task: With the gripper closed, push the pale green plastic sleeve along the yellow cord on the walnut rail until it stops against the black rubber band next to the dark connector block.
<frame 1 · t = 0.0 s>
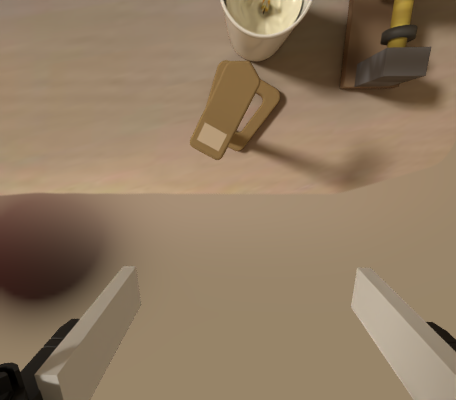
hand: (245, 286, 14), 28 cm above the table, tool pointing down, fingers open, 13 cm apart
candle holder: (256, 30, 35), on the table
headphone stand: (235, 110, 38), on the table
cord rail: (376, 11, 34), on the table
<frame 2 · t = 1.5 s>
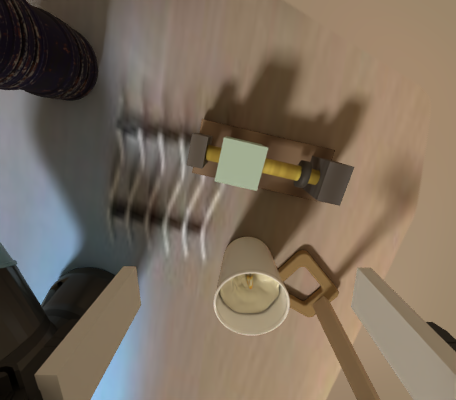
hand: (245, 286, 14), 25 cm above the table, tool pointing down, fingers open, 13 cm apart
candle holder: (247, 256, 42), on the table
headphone stand: (301, 283, 43), on the table
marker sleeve: (240, 161, 30), point 7 cm above the table, slide at 0.0 cm
storage jar: (65, 64, 34), on the table
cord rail: (261, 160, 37), on the table
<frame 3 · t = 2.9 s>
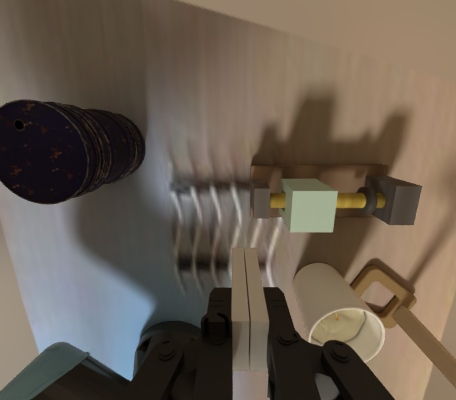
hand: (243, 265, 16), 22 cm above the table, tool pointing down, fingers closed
candle holder: (315, 282, 42), on the table
headphone stand: (375, 296, 43), on the table
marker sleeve: (304, 202, 31), point 7 cm above the table, slide at 0.0 cm
storage jar: (114, 146, 37), on the table
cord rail: (313, 190, 38), on the table
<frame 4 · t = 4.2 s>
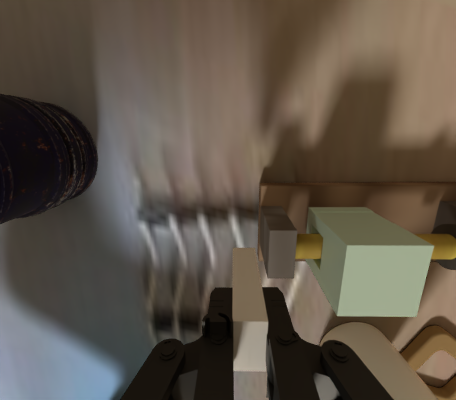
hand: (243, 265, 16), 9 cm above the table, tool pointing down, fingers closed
candle holder: (350, 346, 30), on the table
headphone stand: (434, 366, 30), on the table
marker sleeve: (353, 253, 18), point 7 cm above the table, slide at 0.0 cm
storage jar: (50, 153, 24), on the table
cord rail: (354, 219, 25), on the table
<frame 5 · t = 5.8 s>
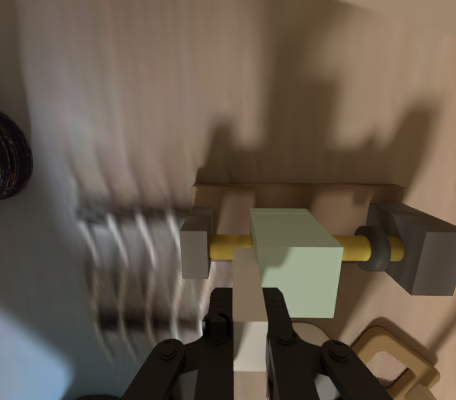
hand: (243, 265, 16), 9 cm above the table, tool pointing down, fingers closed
candle holder: (296, 347, 30), on the table
headphone stand: (380, 367, 30), on the table
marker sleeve: (284, 254, 18), point 7 cm above the table, slide at 1.4 cm, touching gripper
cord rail: (290, 221, 25), on the table
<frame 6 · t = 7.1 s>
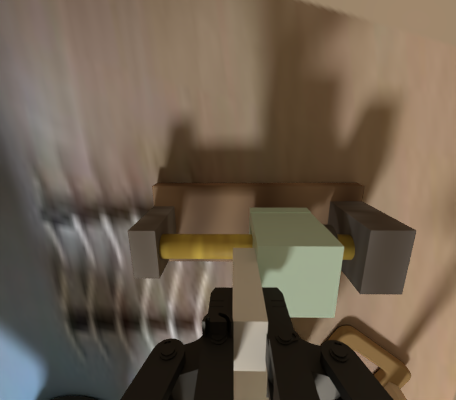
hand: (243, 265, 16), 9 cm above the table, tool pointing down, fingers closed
candle holder: (267, 346, 30), on the table
headphone stand: (352, 366, 30), on the table
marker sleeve: (285, 253, 18), point 7 cm above the table, slide at 5.2 cm, touching gripper
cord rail: (254, 220, 25), on the table
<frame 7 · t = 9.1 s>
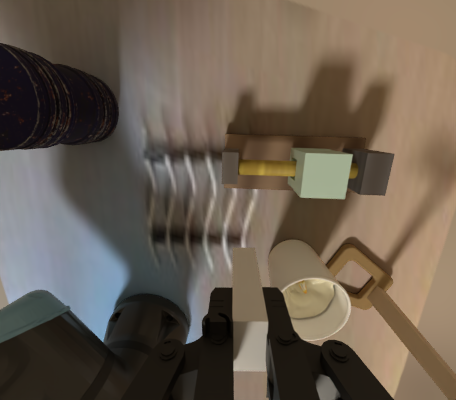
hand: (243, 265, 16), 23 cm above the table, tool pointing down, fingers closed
candle holder: (291, 259, 42), on the table
headphone stand: (351, 277, 42), on the table
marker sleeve: (315, 170, 30), point 7 cm above the table, slide at 5.2 cm
storage jar: (87, 109, 36), on the table
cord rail: (289, 162, 37), on the table
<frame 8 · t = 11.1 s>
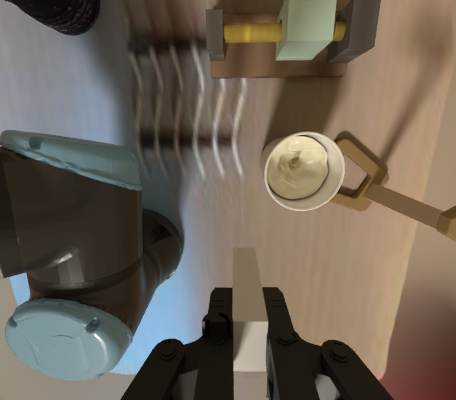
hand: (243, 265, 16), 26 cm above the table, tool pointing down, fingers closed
candle holder: (284, 161, 41), on the table
headphone stand: (346, 178, 41), on the table
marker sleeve: (302, 28, 29), point 7 cm above the table, slide at 5.2 cm
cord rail: (277, 48, 36), on the table
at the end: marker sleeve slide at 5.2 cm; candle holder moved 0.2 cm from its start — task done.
